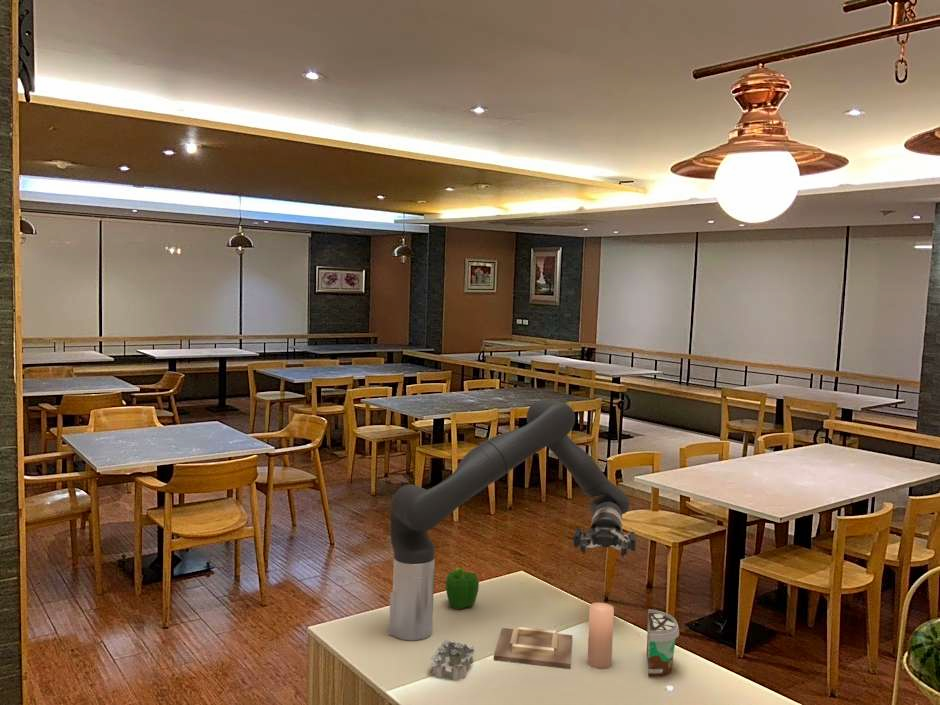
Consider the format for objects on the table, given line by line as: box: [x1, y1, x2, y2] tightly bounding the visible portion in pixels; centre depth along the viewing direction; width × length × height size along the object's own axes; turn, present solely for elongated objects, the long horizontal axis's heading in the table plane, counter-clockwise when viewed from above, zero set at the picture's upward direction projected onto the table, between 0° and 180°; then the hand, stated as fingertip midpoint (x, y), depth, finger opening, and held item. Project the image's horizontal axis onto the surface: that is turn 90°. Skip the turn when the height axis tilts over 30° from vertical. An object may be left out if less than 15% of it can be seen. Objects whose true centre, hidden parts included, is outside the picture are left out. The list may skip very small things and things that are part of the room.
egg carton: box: [430, 638, 476, 682], centre depth 150 cm, size 11×8×4 cm
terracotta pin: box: [587, 602, 615, 670], centre depth 153 cm, size 5×5×12 cm
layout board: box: [493, 626, 573, 670], centre depth 159 cm, size 16×14×2 cm
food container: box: [646, 608, 680, 678], centre depth 152 cm, size 12×6×10 cm, turn 168°
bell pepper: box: [445, 566, 480, 610], centre depth 182 cm, size 8×8×10 cm
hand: (603, 551), depth 163 cm, fingers open, 8 cm apart
